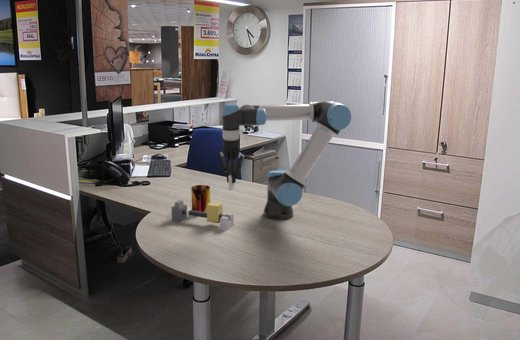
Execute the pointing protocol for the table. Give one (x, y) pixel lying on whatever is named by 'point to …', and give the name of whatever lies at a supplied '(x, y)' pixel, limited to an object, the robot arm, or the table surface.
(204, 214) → the dark grey rod
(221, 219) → the gray notched block
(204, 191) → the mug
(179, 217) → the block
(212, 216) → the sleeve
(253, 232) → the table surface
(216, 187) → the table surface
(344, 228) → the table surface
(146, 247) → the table surface
